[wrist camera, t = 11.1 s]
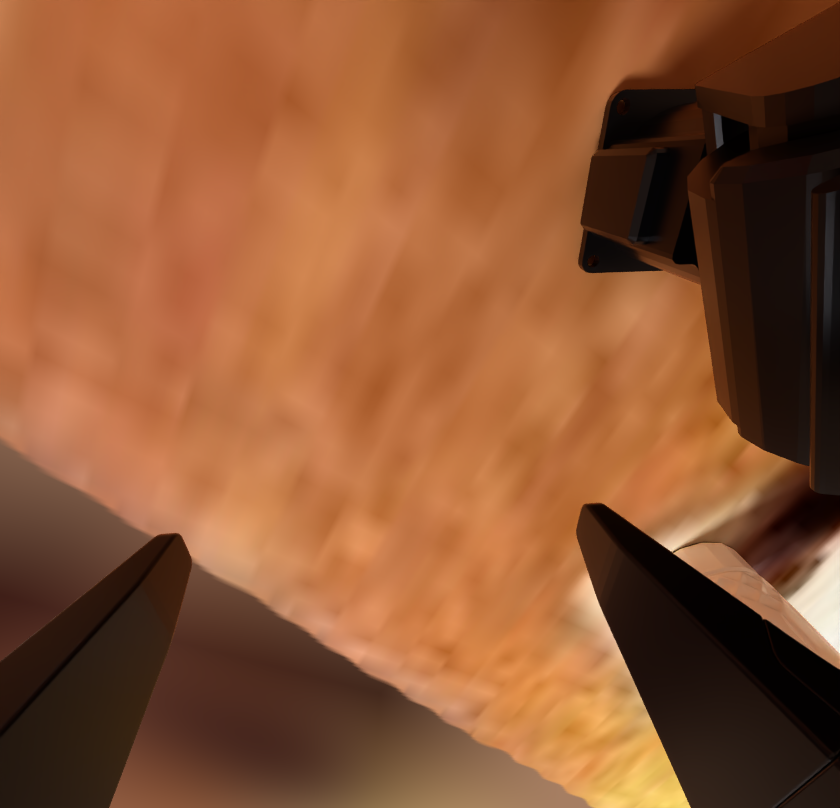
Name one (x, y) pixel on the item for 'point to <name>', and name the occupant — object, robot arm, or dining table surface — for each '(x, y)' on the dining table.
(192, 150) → the dining table surface
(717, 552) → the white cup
